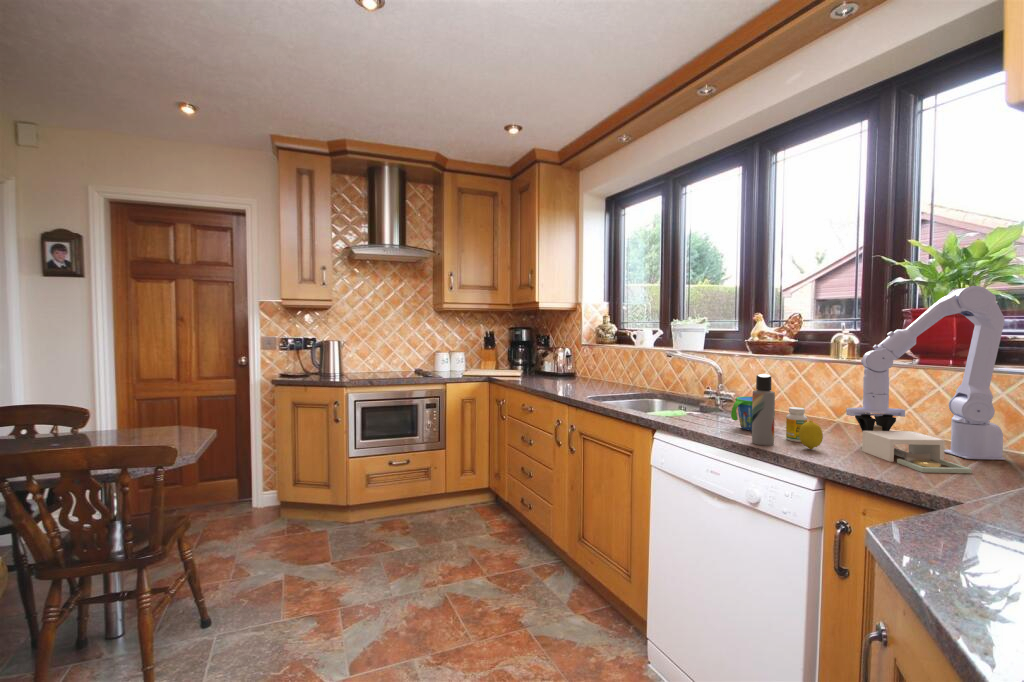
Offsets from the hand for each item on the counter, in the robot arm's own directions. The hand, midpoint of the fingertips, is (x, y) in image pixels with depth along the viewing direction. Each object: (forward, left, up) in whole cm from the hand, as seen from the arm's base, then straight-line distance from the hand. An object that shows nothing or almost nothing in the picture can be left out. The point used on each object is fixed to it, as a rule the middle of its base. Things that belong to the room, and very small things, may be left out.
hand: (874, 441), depth 132 cm
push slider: (0, +6, -2) cm, 7 cm away
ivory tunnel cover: (0, +10, -2) cm, 10 cm away
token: (0, +18, -2) cm, 18 cm away
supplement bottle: (+18, -7, -2) cm, 19 cm away
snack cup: (+24, -22, -2) cm, 32 cm away
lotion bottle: (+30, -2, -2) cm, 30 cm away
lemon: (+20, +4, -2) cm, 20 cm away
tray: (0, +19, -2) cm, 19 cm away
